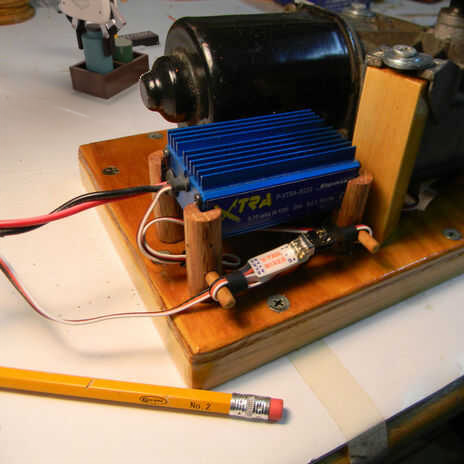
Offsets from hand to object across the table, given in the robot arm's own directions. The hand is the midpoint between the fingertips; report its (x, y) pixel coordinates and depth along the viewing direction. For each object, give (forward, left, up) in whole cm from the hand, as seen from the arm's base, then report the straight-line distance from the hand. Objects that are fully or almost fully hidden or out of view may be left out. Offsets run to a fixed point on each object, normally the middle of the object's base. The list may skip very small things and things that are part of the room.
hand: (97, 50), depth 101 cm
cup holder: (0, +4, -9) cm, 10 cm away
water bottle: (0, 0, -8) cm, 8 cm away
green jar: (0, +8, -8) cm, 11 cm away
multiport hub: (-10, +29, -9) cm, 32 cm away
